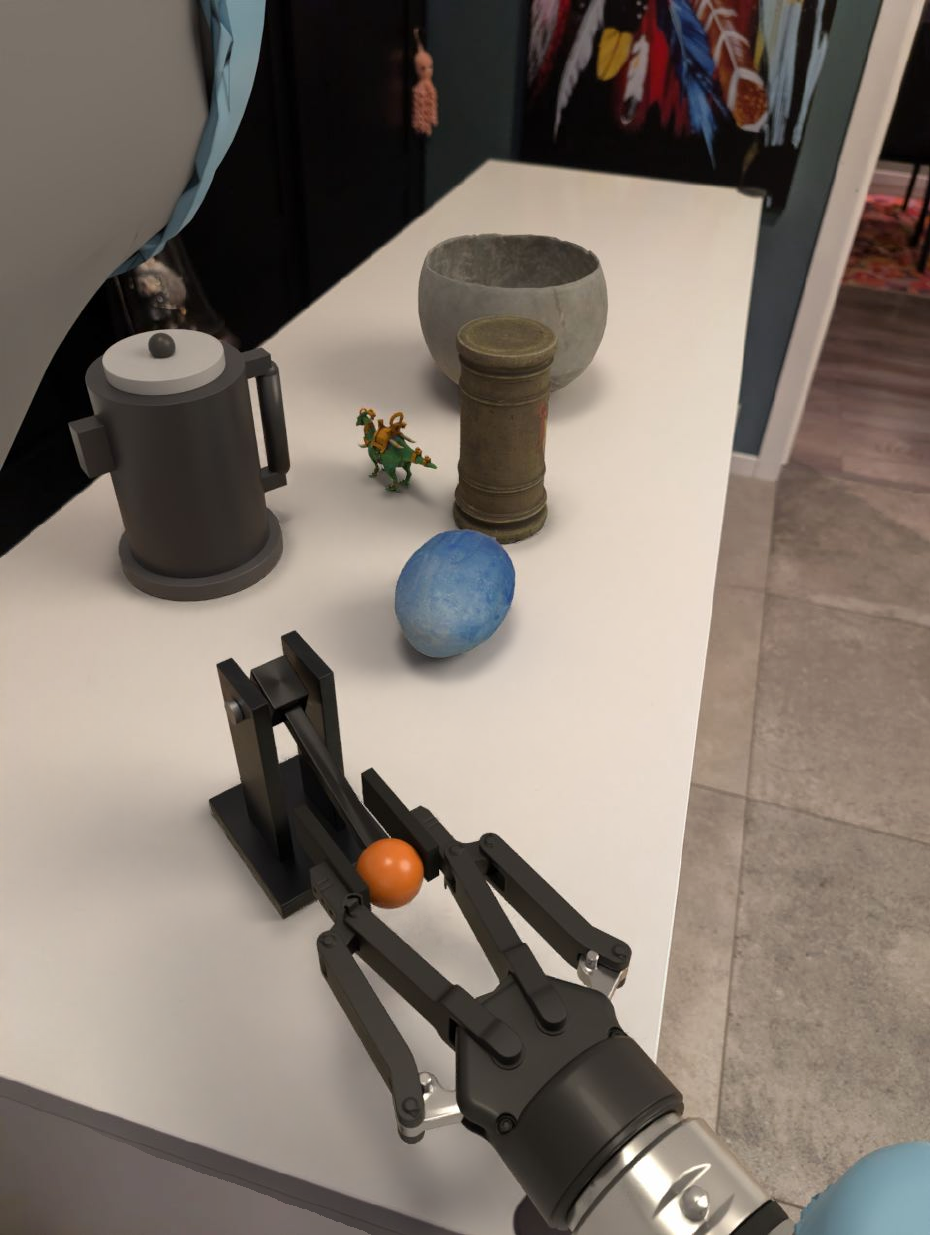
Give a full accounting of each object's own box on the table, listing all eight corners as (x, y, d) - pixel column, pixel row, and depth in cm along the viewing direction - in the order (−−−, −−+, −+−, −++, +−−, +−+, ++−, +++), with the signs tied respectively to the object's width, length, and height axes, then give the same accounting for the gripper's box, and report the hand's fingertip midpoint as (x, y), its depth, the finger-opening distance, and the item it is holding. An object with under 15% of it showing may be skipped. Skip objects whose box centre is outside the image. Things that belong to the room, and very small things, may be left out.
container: (490, 555, 86) (497, 368, 74) (433, 509, 91) (431, 328, 79) (567, 522, 90) (585, 340, 78) (508, 479, 95) (516, 303, 83)
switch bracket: (394, 854, 61) (384, 689, 52) (283, 919, 58) (250, 755, 48) (316, 757, 67) (294, 594, 58) (210, 811, 64) (169, 646, 54)
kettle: (149, 627, 78) (88, 399, 64) (87, 544, 86) (22, 327, 73) (334, 553, 86) (313, 336, 72) (260, 483, 94) (230, 278, 81)
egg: (523, 477, 77) (449, 590, 66) (559, 564, 81) (494, 682, 71) (433, 492, 81) (351, 599, 71) (472, 573, 86) (399, 686, 76)
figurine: (371, 456, 98) (367, 382, 93) (449, 505, 92) (449, 429, 86) (347, 466, 97) (341, 392, 91) (424, 517, 90) (423, 441, 85)
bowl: (635, 401, 108) (654, 268, 98) (482, 449, 100) (486, 309, 90) (530, 334, 121) (537, 211, 111) (387, 371, 113) (382, 242, 103)
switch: (429, 894, 52) (443, 875, 49) (373, 929, 50) (384, 912, 47) (291, 673, 57) (297, 643, 54) (236, 698, 55) (238, 669, 52)
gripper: (781, 1012, 41) (456, 693, 55) (466, 1286, 33) (182, 834, 47) (745, 1089, 46) (455, 779, 60) (463, 1344, 38) (207, 918, 52)
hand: (335, 804), depth 53 cm, fingers closed on switch, 4 cm apart
